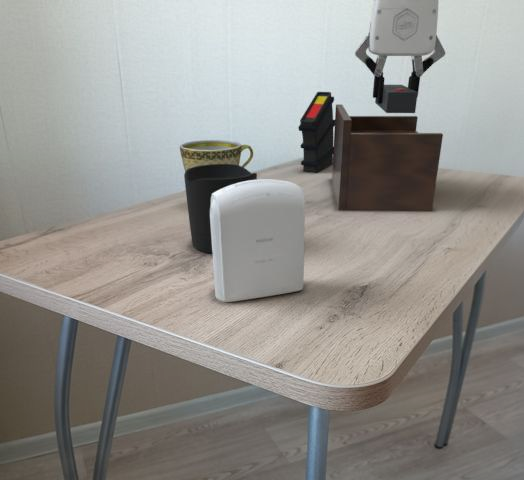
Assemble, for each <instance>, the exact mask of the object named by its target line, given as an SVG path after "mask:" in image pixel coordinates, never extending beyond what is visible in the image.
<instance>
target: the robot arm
mask: <svg viewBox="0 0 524 480" xmlns="http://www.w3.org/2000/svg"><path fill="white" fill-rule="evenodd" d="M371 9H372V10H371V15H370V24H369V30H368V33H367V34H366V36H365V37H364V38H363V40H362V42H361V43H360V44H359V46H358V47H357V49H356V50H355V51H354V56H355V58H357V59H358V60H359V61H361V62H362V63H363V64H364V65H365V66H366V67H367V68H368V70H369V71H370V72H371V74H372V75H373V87H372V98H373V99H375V98H376V103H378V104H381V103H382V97H383V89H384V85H385V77H384V69H385V64H386V62H387V58H388V57H410V58H411V59H410V60H411V69H412V71H411V73H410V74H411V75H410V76H409V77H408V83H407V87H408V88H410V89H412V90H414V91H416V92H418V94H417V98H418V96H419V89H420V82H421V77H422V76H423V75H424V73H426V72H427V71H428V70H429V69H430V68H431V67H432V66H433V65H434V64H436V63H437V62H438V61H439V60H441V59H443V58H444V57H445V56H446V51H445V49H444V47H443V44H442V43H441V40H440V38H439V37H438V35H437V33H438V31H437V30H438V20H439V19H438V18H439V0H373V4H372V8H371ZM367 50H368V51H369V53H371V54H372V55H375V56H376V59H375V60H374V59H373V58H372V57H370V55H368V54H367ZM427 55H429V56H428V57H426V58H424V59H423V56H427ZM376 103H375V104H376Z"/></svg>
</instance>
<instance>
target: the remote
mask: <svg viewBox="0 0 524 480" xmlns="http://www.w3.org/2000/svg"><path fill="white" fill-rule="evenodd" d="M417 94H418V95H419V91H418V92H416V91H414V90H412V89H410V88H408V86H406V85H403V84H384V89H383V97H382V103H381V104H378V103H376V98H374V99H375V100H374V103H375V104H376V105H377V106H378V107H379V108H381V110H382V111H384V113H386V114H416V109H417V102H418V97H417Z"/></svg>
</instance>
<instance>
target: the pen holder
mask: <svg viewBox="0 0 524 480" xmlns="http://www.w3.org/2000/svg"><path fill="white" fill-rule="evenodd" d="M242 166H243V165H240V164H239V165H234V164H211V165H202V166H196V167H192V168H189V169H187V170H186V172H185V171H184V176H183V177H184V187H185V194H186V204H187V211H188V212H187V213H188V221H189V229H190V236H191V244H192V247H193V248H195V250H197V251H199V252H200V253H204V254H208V255H209V254H210V255H213V254H212V239H211V225H210V207H211V196H212V193H214V192H216V191H218V190H220V189H222V188H224V187H227V186H229V185H232V184H236V183H239V182H243V181H249V180H257V179H258V173H257V172H250V171H249V170H248V169H247V168H246V167H245V168H243V167H242Z"/></svg>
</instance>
